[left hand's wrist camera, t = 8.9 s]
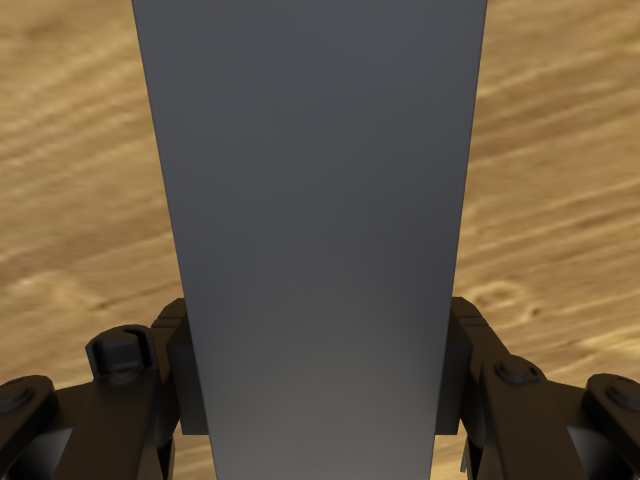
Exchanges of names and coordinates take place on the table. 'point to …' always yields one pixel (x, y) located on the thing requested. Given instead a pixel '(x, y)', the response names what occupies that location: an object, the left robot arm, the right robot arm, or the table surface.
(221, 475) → the post
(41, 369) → the table surface
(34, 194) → the table surface
